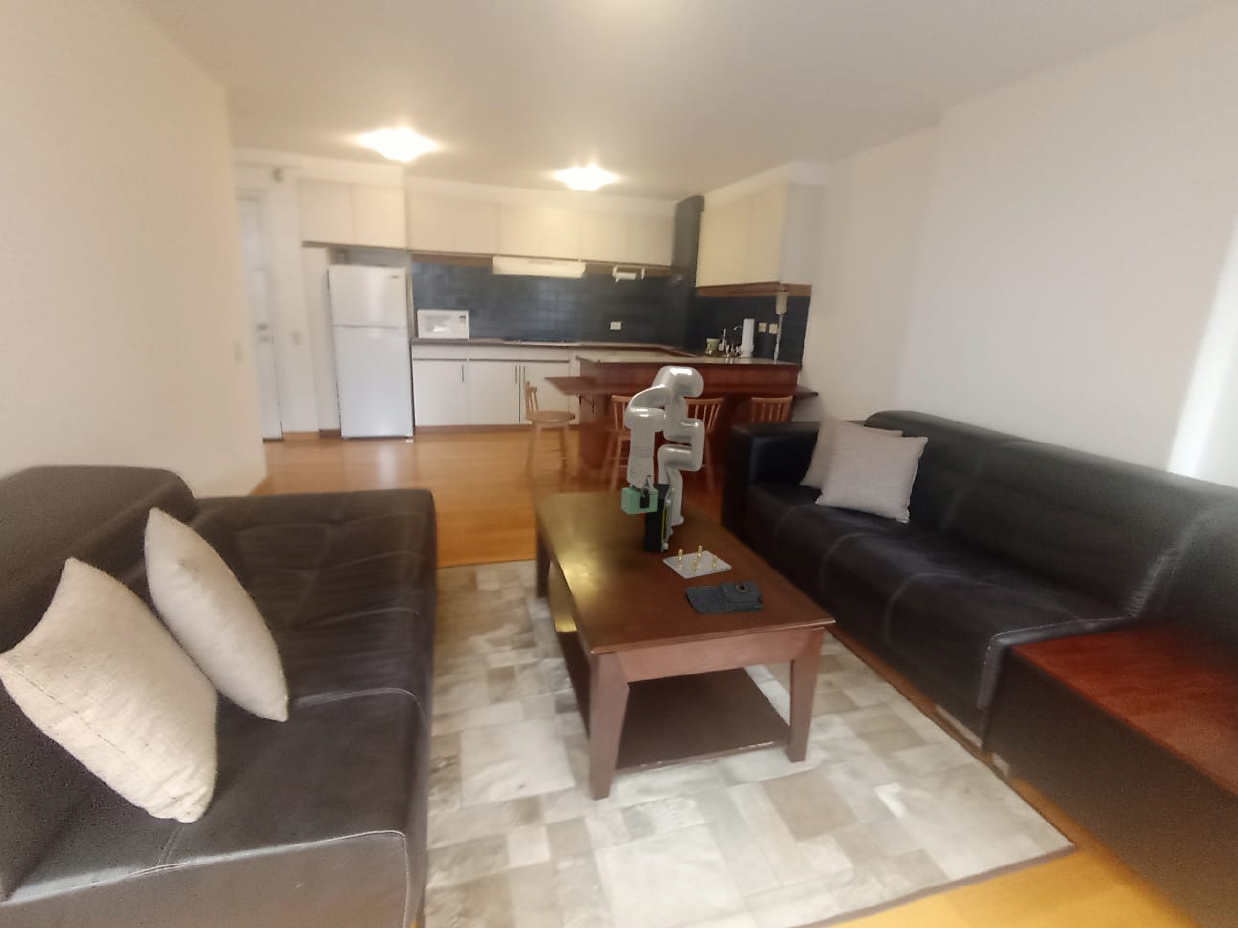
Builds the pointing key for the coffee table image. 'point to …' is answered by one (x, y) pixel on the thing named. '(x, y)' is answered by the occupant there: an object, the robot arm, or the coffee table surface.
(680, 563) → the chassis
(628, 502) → the green block
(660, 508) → the electrical component
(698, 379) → the robot arm
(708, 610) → the dark slate chunk
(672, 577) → the coffee table surface
